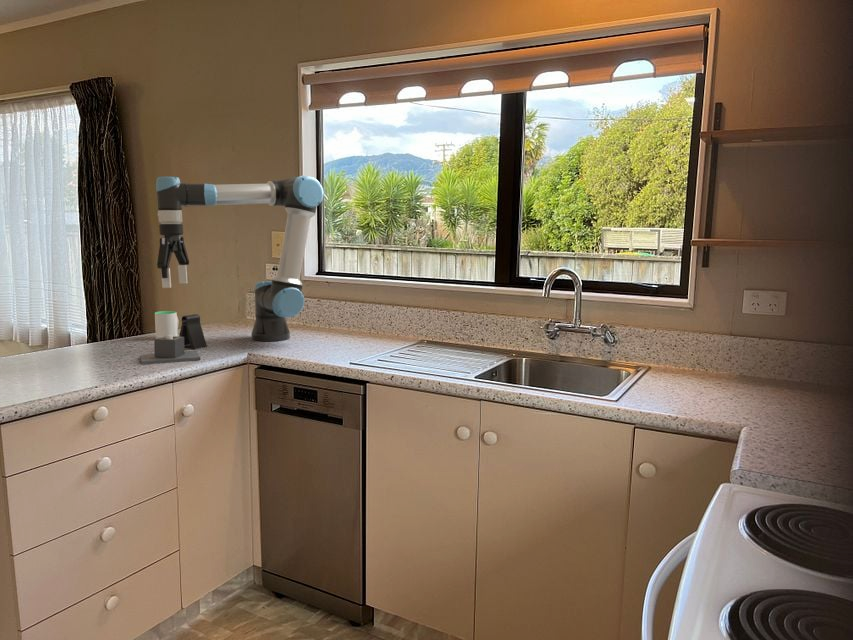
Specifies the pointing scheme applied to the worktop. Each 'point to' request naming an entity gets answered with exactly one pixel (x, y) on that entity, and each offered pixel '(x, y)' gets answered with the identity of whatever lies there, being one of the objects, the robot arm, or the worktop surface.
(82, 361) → the worktop surface
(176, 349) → the gray square frame
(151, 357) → the panel
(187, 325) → the phone stand
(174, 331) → the mug
